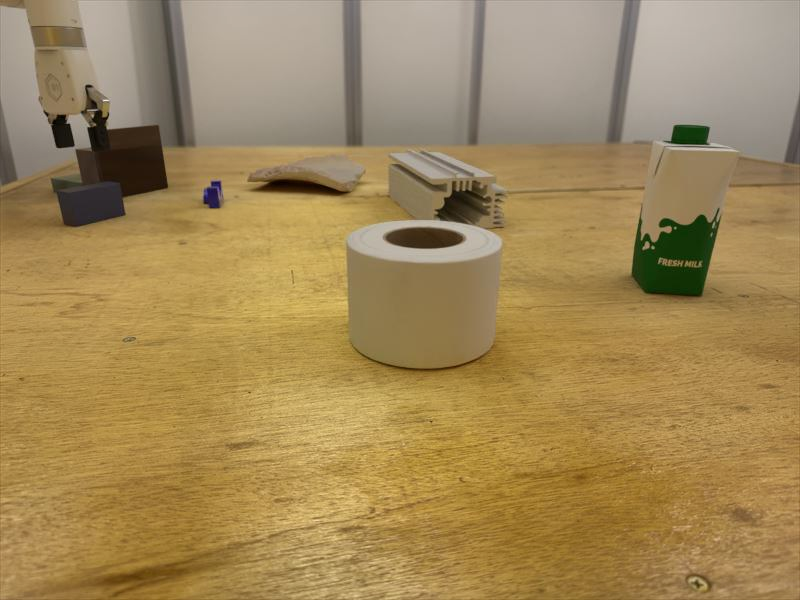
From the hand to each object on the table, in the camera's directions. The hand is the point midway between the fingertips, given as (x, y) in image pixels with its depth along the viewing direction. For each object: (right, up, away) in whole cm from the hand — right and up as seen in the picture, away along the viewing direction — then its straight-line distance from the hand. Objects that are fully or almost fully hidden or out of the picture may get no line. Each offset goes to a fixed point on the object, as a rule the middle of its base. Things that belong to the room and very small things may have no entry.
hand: (83, 149), depth 96 cm
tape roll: (+58, -30, -37) cm, 75 cm away
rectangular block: (-1, -12, +5) cm, 13 cm away
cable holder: (+17, -7, +18) cm, 25 cm away
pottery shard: (+34, +1, +36) cm, 50 cm away
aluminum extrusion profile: (+64, -8, +15) cm, 66 cm away
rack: (-10, -1, +29) cm, 31 cm away
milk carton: (+91, -25, -23) cm, 97 cm away
